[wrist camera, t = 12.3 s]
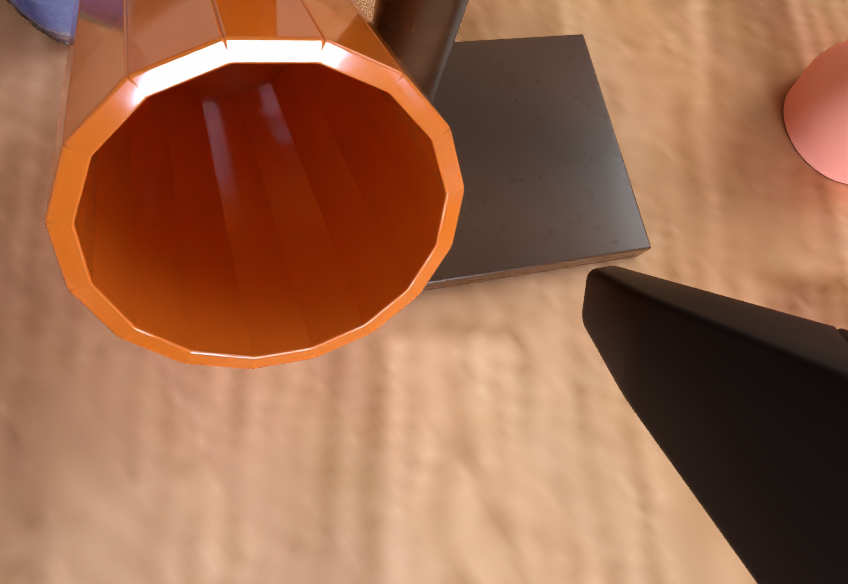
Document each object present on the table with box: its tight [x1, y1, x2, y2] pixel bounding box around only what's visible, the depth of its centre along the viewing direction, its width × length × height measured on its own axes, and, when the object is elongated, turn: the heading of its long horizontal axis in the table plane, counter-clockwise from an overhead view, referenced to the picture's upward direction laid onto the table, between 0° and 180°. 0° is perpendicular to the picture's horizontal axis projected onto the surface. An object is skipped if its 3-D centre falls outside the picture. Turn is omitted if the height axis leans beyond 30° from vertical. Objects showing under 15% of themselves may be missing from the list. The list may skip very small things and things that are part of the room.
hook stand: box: [372, 0, 651, 291], centre depth 17 cm, size 10×18×15 cm, turn 102°
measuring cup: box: [45, 0, 464, 369], centre depth 14 cm, size 11×7×13 cm
